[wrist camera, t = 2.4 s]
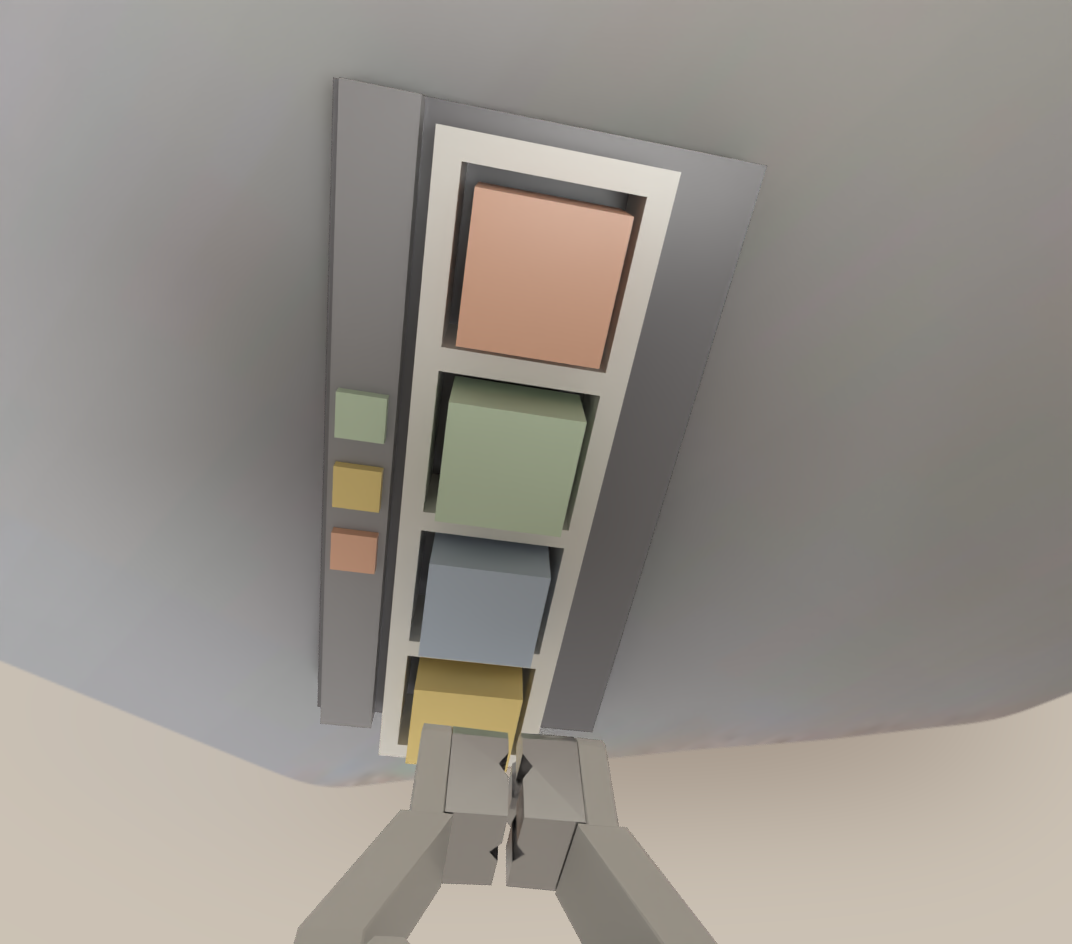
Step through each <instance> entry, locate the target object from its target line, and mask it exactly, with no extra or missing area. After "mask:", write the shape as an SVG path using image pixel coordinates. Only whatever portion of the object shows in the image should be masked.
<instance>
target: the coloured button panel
mask: <svg viewBox="0 0 1072 944" xmlns="http://www.w3.org/2000/svg"><path fill="white" fill-rule="evenodd" d="M766 168H767V165H762V164H757V163H752V162H747V161H742V160H737V159H732V158H727V157H723V156H718V155H713V154H708V153H703V152H698V151H693V150H688V149H683V148H678V147H673V146H668V145H664V144H659V143H654V142H649V141H644V140H639V139H634V138H629V137H624V136H619V135H614V134H609V133H604V132H600V131H595V130H590V129H585V128H580V127H575V126H570V125H565V124H560V123H555V122H550V121H545V120H541V119H536V118H531V117H526V116H521V115H516V114H511V113H506V112H501V111H496V110H491V109H486V108H481V107H477V106H472V105H467V104H462V103H457V102H452V101H447V100H442V99H437V98H432V97H427V96H424V95H423V94H420V93H415V92H410V91H405V90H400V89H395V88H390V87H385V86H380V85H375V84H370V83H365V82H361V81H356V80H351V79H346V78H341V77H339V78H334V77H333V109H332V149H331V189H330V229H329V269H328V309H327V349H326V389H325V429H324V469H323V508H322V548H321V588H320V628H319V668H318V707H321V720H320V724H329V725H340V726H351V727H362V728H371V725H372V721H373V717H374V712H381V713H382V723H381V734H380V745H379V755H383V756H395V757H406V754H407V746H408V737H409V729H410V721H411V712H412V704H413V696H414V688H415V682H416V677H417V671H418V665H419V660H420V657H422V656H418V654H419V646H420V637H421V629H422V621H423V612H424V604H425V596H426V588H427V579H428V571H429V563H430V558H431V553H432V547H433V542H434V537H435V532H439V533H447V534H454V535H462V536H470V537H478V538H486V539H494V540H502V541H510V542H518V543H526V544H533V545H541V546H548V552H549V562H550V573H551V581H550V585H549V589H548V594H547V598H546V602H545V607H544V611H543V615H542V620H541V624H540V628H539V633H538V637H537V642H536V646H535V650H534V655H533V659H532V663H531V668H528V667H522V680H523V702H522V707H521V711H520V715H519V720H518V724H517V728H516V733H515V737H514V741H513V746H512V750H511V754H510V759H509V763H508V766H511V767H512V764H513V763H514V762H516V745H517V741H518V737H519V735H520V733H529V734H539V730H540V727H541V728H552V729H562V730H573V731H584V732H592V731H593V728H594V725H595V721H596V718H597V715H598V712H599V709H600V705H601V702H602V699H603V696H604V692H605V689H606V686H607V683H608V679H609V676H610V673H611V670H612V666H613V663H614V660H615V657H616V654H617V650H618V647H619V644H620V641H621V637H622V634H623V631H624V628H625V624H626V621H627V618H628V615H629V611H630V608H631V605H632V602H633V599H634V595H635V592H636V589H637V586H638V582H639V579H640V576H641V573H642V569H643V566H644V563H645V560H646V556H647V553H648V550H649V547H650V544H651V540H652V537H653V534H654V531H655V527H656V524H657V521H658V518H659V514H660V511H661V508H662V505H663V502H664V498H665V495H666V492H667V489H668V485H669V482H670V479H671V476H672V472H673V469H674V466H675V463H676V459H677V456H678V453H679V450H680V447H681V443H682V440H683V437H684V434H685V430H686V427H687V424H688V421H689V417H690V414H691V411H692V408H693V404H694V401H695V398H696V395H697V392H698V388H699V385H700V382H701V379H702V375H703V372H704V369H705V366H706V362H707V359H708V356H709V353H710V349H711V346H712V343H713V340H714V337H715V333H716V330H717V327H718V324H719V320H720V317H721V314H722V311H723V307H724V304H725V301H726V298H727V294H728V291H729V288H730V285H731V282H732V278H733V275H734V272H735V269H736V265H737V262H738V259H739V256H740V252H741V249H742V246H743V243H744V239H745V236H746V233H747V230H748V227H749V223H750V220H751V217H752V214H753V210H754V207H755V204H756V201H757V197H758V194H759V191H760V188H761V185H762V181H763V178H764V175H765V172H766ZM478 182H484V183H489V184H494V185H499V186H505V187H510V188H515V189H520V190H526V191H531V192H536V193H541V194H547V195H552V196H557V197H563V198H568V199H573V200H578V201H584V202H589V203H594V204H599V205H605V206H610V207H615V208H620V209H622V210H624V211H625V212H627V213H629V214H630V215H632V216H634V220H633V224H632V229H631V233H630V237H629V242H628V246H627V250H626V255H625V259H624V263H623V268H622V272H621V277H620V281H619V285H618V290H617V294H616V298H615V303H614V307H613V311H612V316H611V320H610V324H609V329H608V333H607V337H606V342H605V346H604V350H603V355H602V359H601V363H600V368H599V369H596V368H589V367H583V366H577V365H571V364H564V363H558V362H552V361H546V360H539V359H533V358H527V357H521V356H514V355H508V354H502V353H496V352H489V351H483V350H477V349H471V348H464V347H458V346H456V338H457V330H458V321H459V313H460V305H461V296H462V288H463V280H464V271H465V263H466V255H467V246H468V238H469V230H470V222H471V213H472V205H473V197H474V188H475V186H476V184H477V183H478ZM455 376H460V377H467V378H473V379H479V380H486V381H492V382H499V383H505V384H512V385H518V386H525V387H531V388H538V389H544V390H551V391H557V392H563V393H570V394H576V395H579V396H580V399H581V403H582V407H583V410H584V414H585V418H586V421H587V424H586V429H585V433H584V437H583V442H582V446H581V450H580V455H579V459H578V463H577V468H576V472H575V476H574V481H573V485H572V489H571V494H570V498H569V502H568V507H567V511H566V515H565V520H564V524H563V529H562V533H561V537H554V536H547V535H539V534H531V533H523V532H515V531H508V530H500V529H492V528H484V527H477V526H469V525H461V524H453V523H445V522H438V521H435V513H436V504H437V496H438V488H439V479H440V471H441V463H442V454H443V446H444V438H445V429H446V421H447V413H448V405H449V399H450V395H451V391H452V386H453V382H454V378H455ZM426 658H432V657H426ZM436 659H442V658H436ZM445 660H451V659H445ZM455 661H461V660H455ZM464 662H470V661H464ZM474 663H480V662H474ZM483 664H490V663H483ZM493 665H499V664H493ZM503 666H509V665H503ZM512 667H518V666H512Z"/></svg>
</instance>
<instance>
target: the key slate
mask: <svg viewBox="0 0 1072 944" xmlns="http://www.w3.org/2000/svg"><path fill="white" fill-rule="evenodd" d="M550 581H551V573H550V562H549V552H548V546H541V545H533V544H526V543H518V542H510V541H502V540H494V539H486V538H478V537H470V536H462V535H454V534H447V533H439V532H435V537H434V542H433V547H432V553H431V558H430V563H429V571H428V579H427V588H426V596H425V604H424V612H423V621H422V629H421V637H420V646H419V654H418V656H422V657H432V658H442V659H451V660H461V661H470V662H480V663H490V664H499V665H509V666H518V667H528V668H531V663H532V659H533V655H534V650H535V646H536V642H537V637H538V633H539V628H540V624H541V620H542V615H543V611H544V607H545V602H546V598H547V594H548V589H549V585H550Z"/></svg>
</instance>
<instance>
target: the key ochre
mask: <svg viewBox="0 0 1072 944" xmlns="http://www.w3.org/2000/svg"><path fill="white" fill-rule="evenodd" d="M522 702H523V680H522V667H512V666H503V665H493V664H483V663H474V662H464V661H455V660H445V659H436V658H426V657H420V660H419V665H418V671H417V677H416V682H415V688H414V696H413V704H412V712H411V721H410V729H409V737H408V746H407V754H406V762H405V763H407V764H417V758H418V751H419V745H420V738H421V732H422V728H423V725H424V723H428V724H437V725H446V726H452V727H453V726H457V727H465V728H473V729H482V730H490V731H498V732H506V733H508V741H509V753H508V757H507V762H506V767H505V771H504V772H506V771H507V768H508V763H509V759H510V754H511V750H512V746H513V741H514V737H515V733H516V728H517V724H518V720H519V715H520V711H521V707H522Z"/></svg>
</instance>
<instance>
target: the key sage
mask: <svg viewBox="0 0 1072 944" xmlns="http://www.w3.org/2000/svg"><path fill="white" fill-rule="evenodd" d="M586 424H587V421H586V418H585V414H584V410H583V407H582V403H581V399H580V396H579V395H576V394H570V393H563V392H557V391H551V390H544V389H538V388H531V387H525V386H518V385H512V384H505V383H499V382H492V381H486V380H479V379H473V378H467V377H460V376H455V378H454V382H453V386H452V391H451V395H450V399H449V405H448V413H447V421H446V429H445V438H444V446H443V454H442V463H441V471H440V479H439V488H438V496H437V504H436V513H435V521H438V522H445V523H453V524H461V525H469V526H477V527H484V528H492V529H500V530H508V531H515V532H523V533H531V534H539V535H547V536H554V537H561V533H562V529H563V524H564V520H565V515H566V511H567V507H568V502H569V498H570V494H571V489H572V485H573V481H574V476H575V472H576V468H577V463H578V459H579V455H580V450H581V446H582V442H583V437H584V433H585V429H586Z"/></svg>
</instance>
